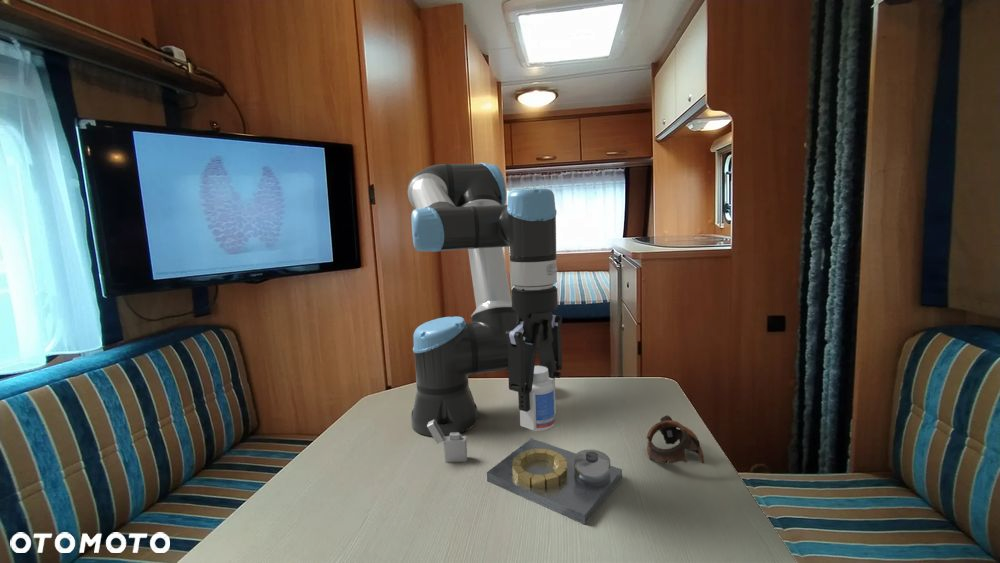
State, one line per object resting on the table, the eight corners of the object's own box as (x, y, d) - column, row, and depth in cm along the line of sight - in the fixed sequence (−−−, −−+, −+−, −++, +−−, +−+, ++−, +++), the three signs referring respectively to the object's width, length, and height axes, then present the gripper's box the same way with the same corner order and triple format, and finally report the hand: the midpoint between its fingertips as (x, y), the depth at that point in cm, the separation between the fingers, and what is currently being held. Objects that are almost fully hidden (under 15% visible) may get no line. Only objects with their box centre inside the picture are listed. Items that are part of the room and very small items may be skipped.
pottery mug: (717, 475, 76) (701, 443, 73) (665, 493, 78) (648, 463, 75) (690, 426, 87) (676, 397, 84) (646, 443, 89) (630, 416, 86)
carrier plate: (487, 480, 76) (485, 452, 75) (531, 445, 87) (530, 420, 86) (585, 524, 64) (584, 491, 64) (622, 477, 75) (622, 449, 74)
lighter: (467, 456, 84) (465, 417, 83) (466, 461, 82) (464, 422, 81) (431, 457, 84) (428, 419, 83) (429, 462, 82) (426, 423, 81)
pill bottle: (559, 420, 75) (558, 366, 74) (548, 434, 70) (546, 377, 69) (530, 414, 78) (528, 362, 76) (517, 428, 73) (515, 372, 71)
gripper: (520, 297, 61) (525, 450, 64) (581, 279, 75) (583, 405, 79) (479, 293, 66) (487, 436, 69) (544, 277, 80) (548, 396, 83)
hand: (538, 419), depth 74 cm, fingers closed on pill bottle, 5 cm apart
